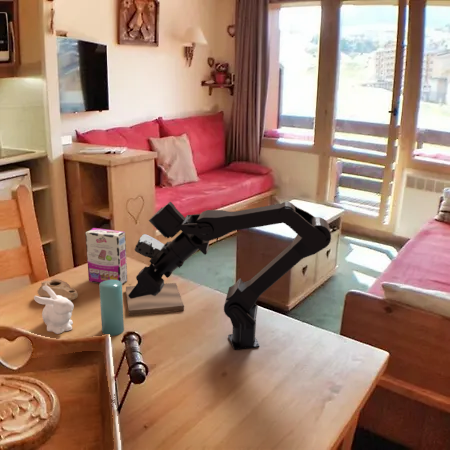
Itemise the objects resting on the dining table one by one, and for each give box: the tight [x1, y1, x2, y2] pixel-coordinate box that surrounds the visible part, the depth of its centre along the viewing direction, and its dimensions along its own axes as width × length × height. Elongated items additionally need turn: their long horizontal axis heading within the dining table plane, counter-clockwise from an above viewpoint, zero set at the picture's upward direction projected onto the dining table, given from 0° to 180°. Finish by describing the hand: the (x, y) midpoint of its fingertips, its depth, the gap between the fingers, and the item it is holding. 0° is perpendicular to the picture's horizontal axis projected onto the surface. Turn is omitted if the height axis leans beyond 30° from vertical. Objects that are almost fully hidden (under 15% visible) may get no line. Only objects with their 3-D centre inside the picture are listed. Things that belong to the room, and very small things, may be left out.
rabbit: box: [33, 285, 75, 335], centre depth 132 cm, size 12×9×12 cm
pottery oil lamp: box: [36, 278, 79, 301], centre depth 147 cm, size 9×12×7 cm
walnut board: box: [125, 282, 185, 316], centre depth 148 cm, size 15×15×2 cm
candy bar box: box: [85, 227, 128, 286], centre depth 157 cm, size 11×5×16 cm, turn 73°
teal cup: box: [98, 280, 125, 337], centre depth 130 cm, size 6×6×13 cm
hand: (135, 288), depth 128 cm, fingers open, 9 cm apart
